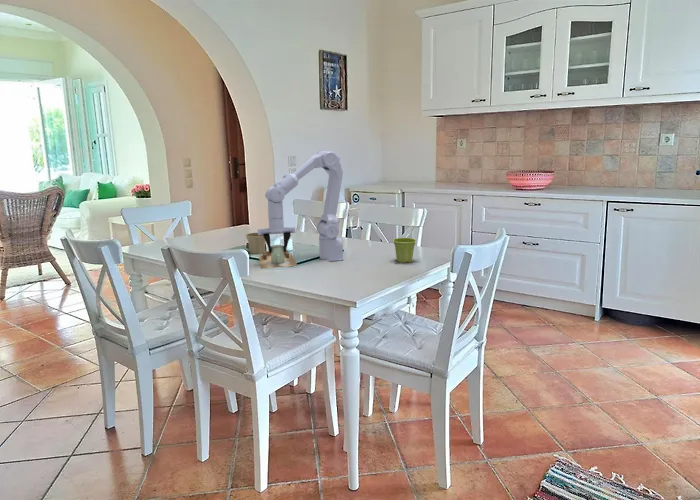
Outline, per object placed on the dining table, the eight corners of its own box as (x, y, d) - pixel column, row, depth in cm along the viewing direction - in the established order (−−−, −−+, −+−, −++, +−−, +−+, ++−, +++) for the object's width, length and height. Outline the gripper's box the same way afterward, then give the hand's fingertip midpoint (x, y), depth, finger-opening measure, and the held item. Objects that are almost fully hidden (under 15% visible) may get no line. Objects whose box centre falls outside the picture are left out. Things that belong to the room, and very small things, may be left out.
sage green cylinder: (283, 259, 208) (283, 244, 207) (285, 265, 201) (285, 249, 199) (271, 260, 207) (270, 245, 206) (272, 266, 200) (271, 250, 198)
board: (291, 255, 222) (291, 249, 221) (297, 267, 201) (297, 261, 200) (258, 257, 219) (258, 251, 218) (261, 270, 198) (260, 263, 198)
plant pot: (419, 259, 210) (419, 238, 208) (412, 264, 202) (412, 243, 200) (397, 257, 214) (397, 237, 212) (389, 262, 206) (389, 241, 204)
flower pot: (272, 254, 224) (271, 234, 223) (252, 257, 219) (250, 237, 217) (263, 250, 232) (261, 231, 230) (243, 253, 227) (242, 234, 225)
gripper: (293, 215, 206) (294, 248, 209) (256, 217, 203) (258, 250, 206) (295, 217, 199) (296, 252, 202) (257, 219, 196) (259, 254, 199)
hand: (277, 251), depth 204 cm, fingers closed on sage green cylinder, 5 cm apart
